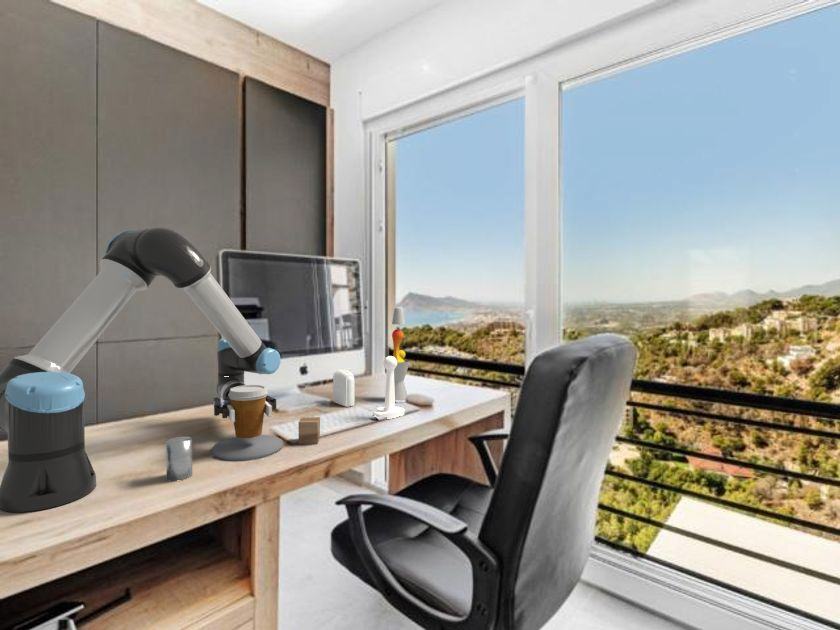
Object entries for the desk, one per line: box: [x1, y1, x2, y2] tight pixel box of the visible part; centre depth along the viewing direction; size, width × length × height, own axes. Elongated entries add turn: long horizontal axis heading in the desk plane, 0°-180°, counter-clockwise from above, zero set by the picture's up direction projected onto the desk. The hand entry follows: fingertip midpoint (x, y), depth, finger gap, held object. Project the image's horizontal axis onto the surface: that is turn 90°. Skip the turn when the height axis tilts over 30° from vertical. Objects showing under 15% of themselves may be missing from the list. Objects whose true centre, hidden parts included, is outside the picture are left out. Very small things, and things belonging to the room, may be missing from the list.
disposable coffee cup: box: [228, 384, 269, 438], centre depth 118 cm, size 10×10×12 cm
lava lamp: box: [391, 306, 411, 400], centre depth 172 cm, size 9×9×35 cm
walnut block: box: [298, 416, 321, 445], centre depth 125 cm, size 5×5×6 cm
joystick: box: [372, 355, 405, 420], centre depth 151 cm, size 11×8×20 cm
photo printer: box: [332, 369, 356, 408], centre depth 166 cm, size 10×4×12 cm, turn 39°
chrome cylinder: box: [165, 436, 193, 482], centre depth 100 cm, size 5×5×8 cm
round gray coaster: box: [211, 434, 284, 462], centre depth 118 cm, size 17×17×1 cm
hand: (252, 414), depth 114 cm, fingers closed on disposable coffee cup, 8 cm apart
